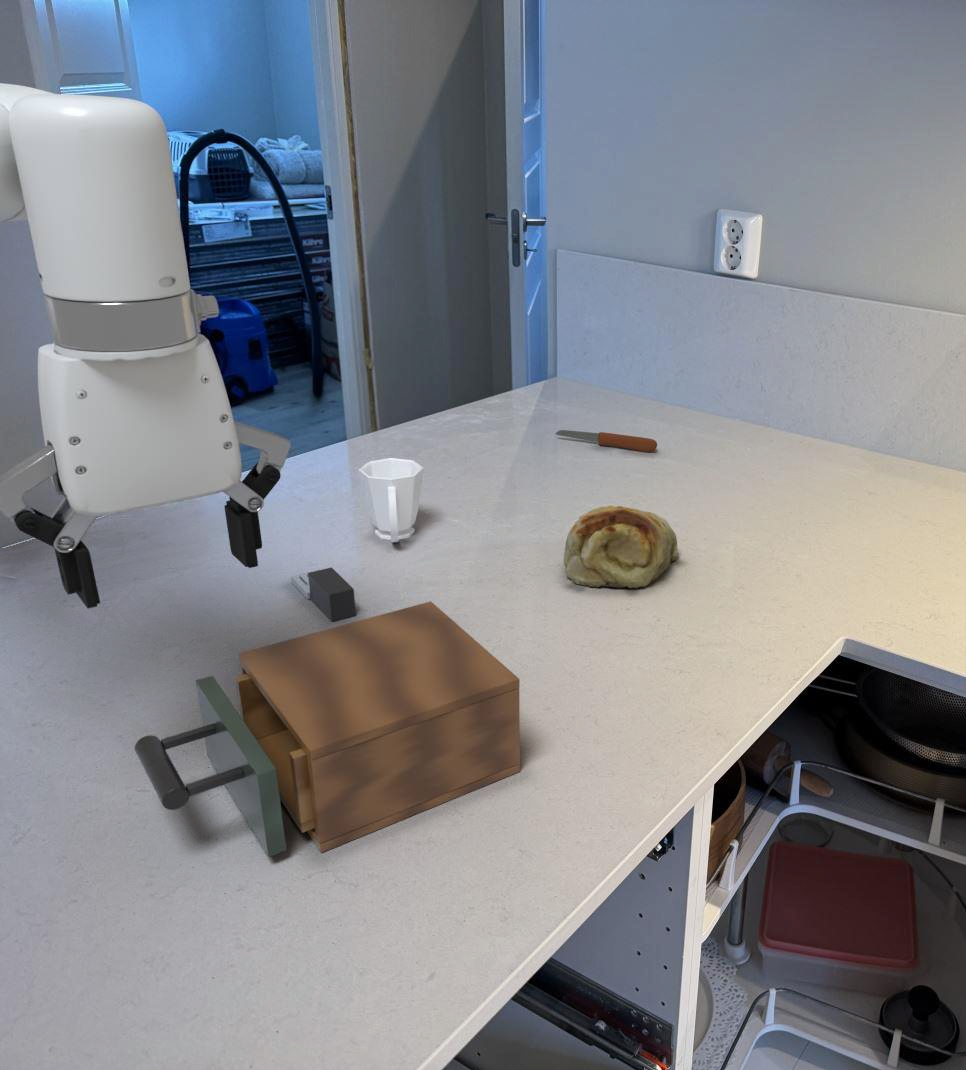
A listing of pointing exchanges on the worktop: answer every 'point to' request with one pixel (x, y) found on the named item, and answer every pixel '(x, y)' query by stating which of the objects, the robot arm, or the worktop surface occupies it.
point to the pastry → (619, 548)
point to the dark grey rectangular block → (327, 592)
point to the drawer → (239, 762)
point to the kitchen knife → (613, 440)
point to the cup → (392, 495)
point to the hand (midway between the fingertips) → (170, 579)
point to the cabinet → (390, 716)
